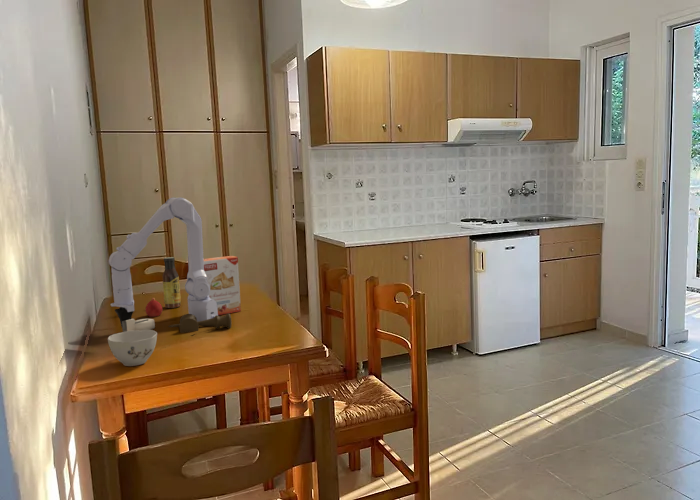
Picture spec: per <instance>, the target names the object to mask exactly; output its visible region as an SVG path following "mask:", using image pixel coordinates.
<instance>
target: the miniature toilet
mask: <svg viewBox="0 0 700 500" xmlns="http://www.w3.org/2000/svg"><path fill="white" fill-rule="evenodd" d="M155 325H156V323H155V319H154V318H140V319H137V320H135V318H131V319H129V320H125V321H122V326H121V329H122V328H123V329H122V332H126V331H132V330H139V331H141V330H153V329H155V327H156V326H155Z"/></svg>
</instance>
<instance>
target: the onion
mask: <svg viewBox="0 0 700 500" xmlns="http://www.w3.org/2000/svg"><path fill="white" fill-rule="evenodd" d="M162 313H163V306H162V304H161V303H160V302H159V301H158V300H156V298H155V297H152V298H151V300H150V301H148V303H147V304H146V306H145V314H146V315H147V316H148V317H150V318H155V317H159V316H160V315H162Z"/></svg>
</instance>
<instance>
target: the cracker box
mask: <svg viewBox="0 0 700 500" xmlns="http://www.w3.org/2000/svg"><path fill="white" fill-rule="evenodd" d="M204 271H205V274H206V276H207V282H208V284H209V286H210V293H209V298H210V299H213V300H215V301H216V303H217V310H218V316H224V315H227V314H228V313H229V314H232V313H239V312H241V311H242V307H241V290H240V289H241V288H240V273H239V272H240V271H239V259H238V256H235V255H229V256H228V255H227V256H218V257H208V258H204Z"/></svg>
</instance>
